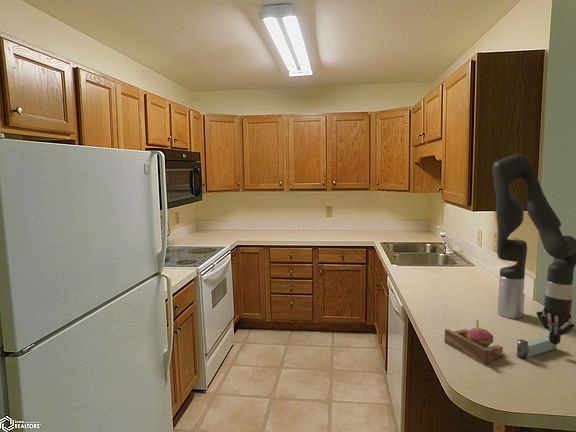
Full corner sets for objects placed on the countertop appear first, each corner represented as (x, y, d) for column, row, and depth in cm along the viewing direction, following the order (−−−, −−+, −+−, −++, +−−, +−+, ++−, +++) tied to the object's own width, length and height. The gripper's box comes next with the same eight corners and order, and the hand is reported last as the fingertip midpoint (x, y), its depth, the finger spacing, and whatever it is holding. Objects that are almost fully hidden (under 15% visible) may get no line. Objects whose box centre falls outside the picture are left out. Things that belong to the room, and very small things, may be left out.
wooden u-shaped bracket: (463, 337, 142) (463, 325, 141) (504, 359, 126) (505, 345, 125) (444, 342, 139) (444, 329, 138) (484, 365, 123) (485, 350, 122)
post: (520, 354, 129) (521, 338, 128) (528, 358, 126) (530, 342, 125) (514, 355, 128) (515, 340, 127) (522, 360, 125) (523, 344, 124)
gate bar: (529, 356, 127) (529, 345, 126) (522, 353, 129) (523, 342, 128) (556, 348, 132) (557, 338, 131) (549, 345, 134) (550, 335, 133)
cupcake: (481, 356, 128) (483, 323, 126) (460, 346, 136) (462, 314, 134) (498, 351, 132) (500, 318, 130) (477, 341, 139) (478, 310, 138)
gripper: (531, 290, 130) (528, 337, 132) (571, 302, 118) (567, 354, 120) (546, 287, 133) (543, 333, 135) (587, 299, 121) (582, 350, 123)
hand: (554, 343), depth 128 cm, fingers closed
